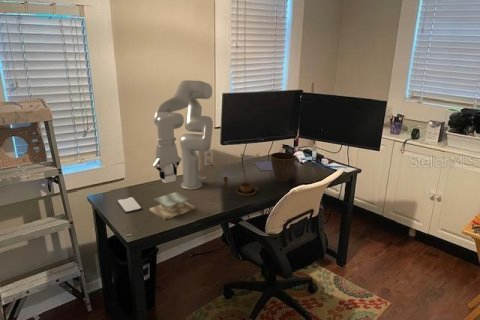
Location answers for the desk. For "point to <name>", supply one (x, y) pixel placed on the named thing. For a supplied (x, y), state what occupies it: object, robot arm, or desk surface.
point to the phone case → (129, 205)
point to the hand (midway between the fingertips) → (168, 176)
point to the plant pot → (282, 165)
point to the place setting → (243, 188)
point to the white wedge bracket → (169, 174)
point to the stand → (171, 205)
